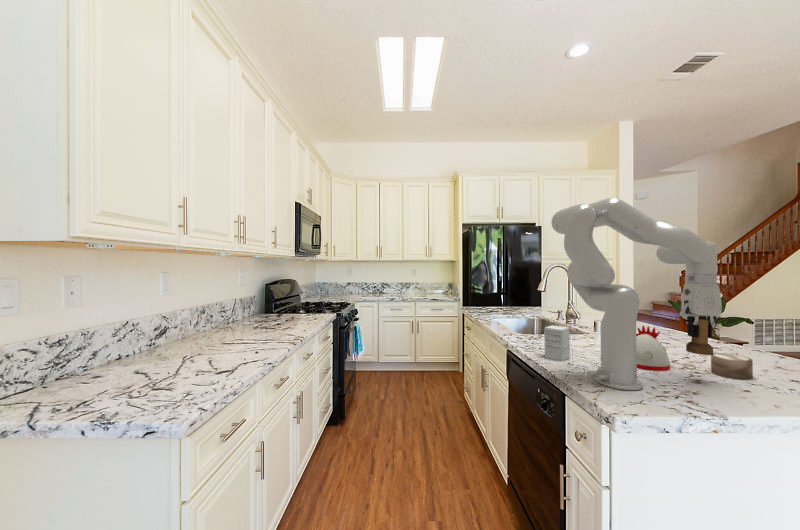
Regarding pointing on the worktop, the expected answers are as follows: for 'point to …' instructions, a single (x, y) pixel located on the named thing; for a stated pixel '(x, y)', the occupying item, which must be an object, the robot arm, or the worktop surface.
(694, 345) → the brown wooden turned piece
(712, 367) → the display pedestal
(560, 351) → the supplement box
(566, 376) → the worktop surface
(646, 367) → the kitchen timer
